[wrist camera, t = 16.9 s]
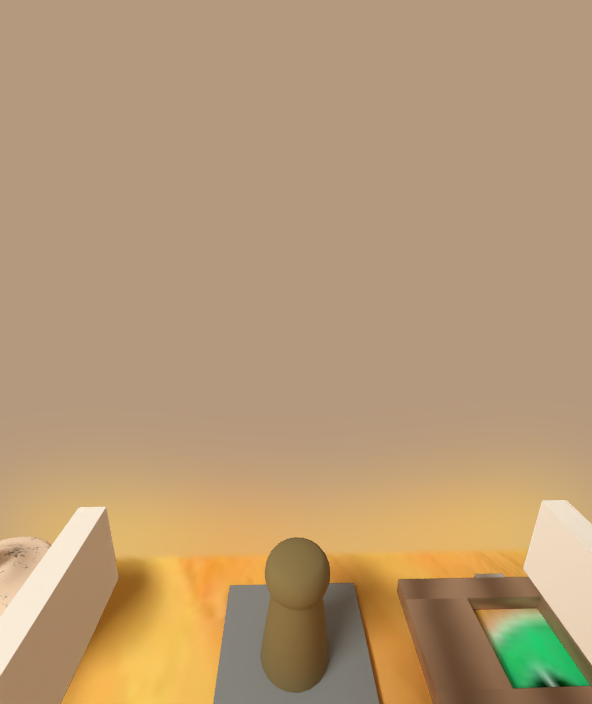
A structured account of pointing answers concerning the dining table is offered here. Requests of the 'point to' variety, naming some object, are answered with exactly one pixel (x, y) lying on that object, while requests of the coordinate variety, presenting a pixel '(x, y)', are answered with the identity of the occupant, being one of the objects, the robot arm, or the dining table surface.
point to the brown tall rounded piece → (296, 616)
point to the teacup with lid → (18, 564)
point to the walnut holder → (478, 640)
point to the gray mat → (246, 640)
